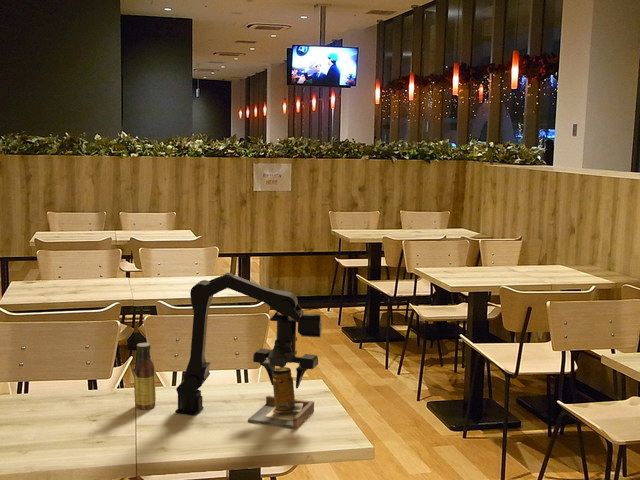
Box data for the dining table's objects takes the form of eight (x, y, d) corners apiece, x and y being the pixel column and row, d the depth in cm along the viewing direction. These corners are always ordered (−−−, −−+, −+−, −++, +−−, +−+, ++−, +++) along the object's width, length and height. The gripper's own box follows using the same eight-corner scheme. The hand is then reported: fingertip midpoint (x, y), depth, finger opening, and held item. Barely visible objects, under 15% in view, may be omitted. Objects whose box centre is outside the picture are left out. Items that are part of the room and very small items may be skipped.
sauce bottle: (142, 402, 246) (141, 340, 243) (159, 405, 244) (159, 342, 241) (130, 409, 240) (129, 345, 237) (147, 412, 238) (146, 347, 235)
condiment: (275, 405, 240) (272, 366, 239) (303, 403, 239) (300, 364, 238) (272, 413, 233) (269, 373, 231) (301, 411, 232) (297, 371, 231)
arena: (248, 421, 231) (248, 412, 231) (267, 404, 246) (267, 395, 245) (297, 428, 227) (297, 418, 226) (314, 411, 241) (314, 401, 241)
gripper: (246, 338, 229) (245, 390, 231) (307, 346, 223) (305, 399, 225) (260, 329, 239) (259, 379, 241) (319, 336, 233) (318, 387, 236)
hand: (285, 386), depth 236 cm, fingers open, 7 cm apart
